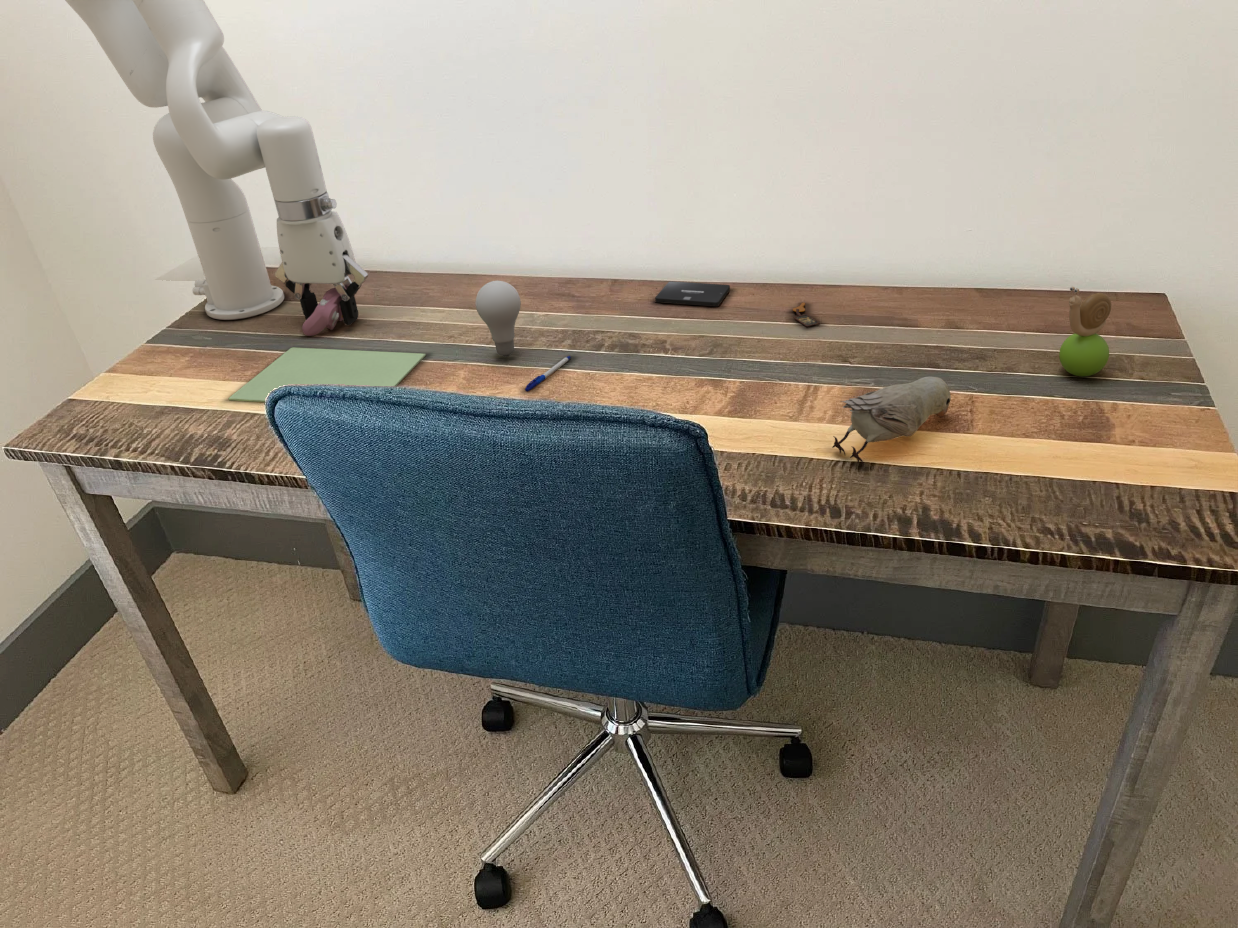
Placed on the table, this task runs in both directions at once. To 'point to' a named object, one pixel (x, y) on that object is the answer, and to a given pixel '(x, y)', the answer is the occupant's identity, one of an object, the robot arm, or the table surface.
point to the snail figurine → (1086, 335)
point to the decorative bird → (895, 410)
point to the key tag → (804, 316)
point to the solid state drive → (692, 293)
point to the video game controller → (324, 314)
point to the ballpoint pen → (545, 374)
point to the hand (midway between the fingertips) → (332, 320)
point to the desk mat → (329, 370)
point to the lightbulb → (499, 313)
